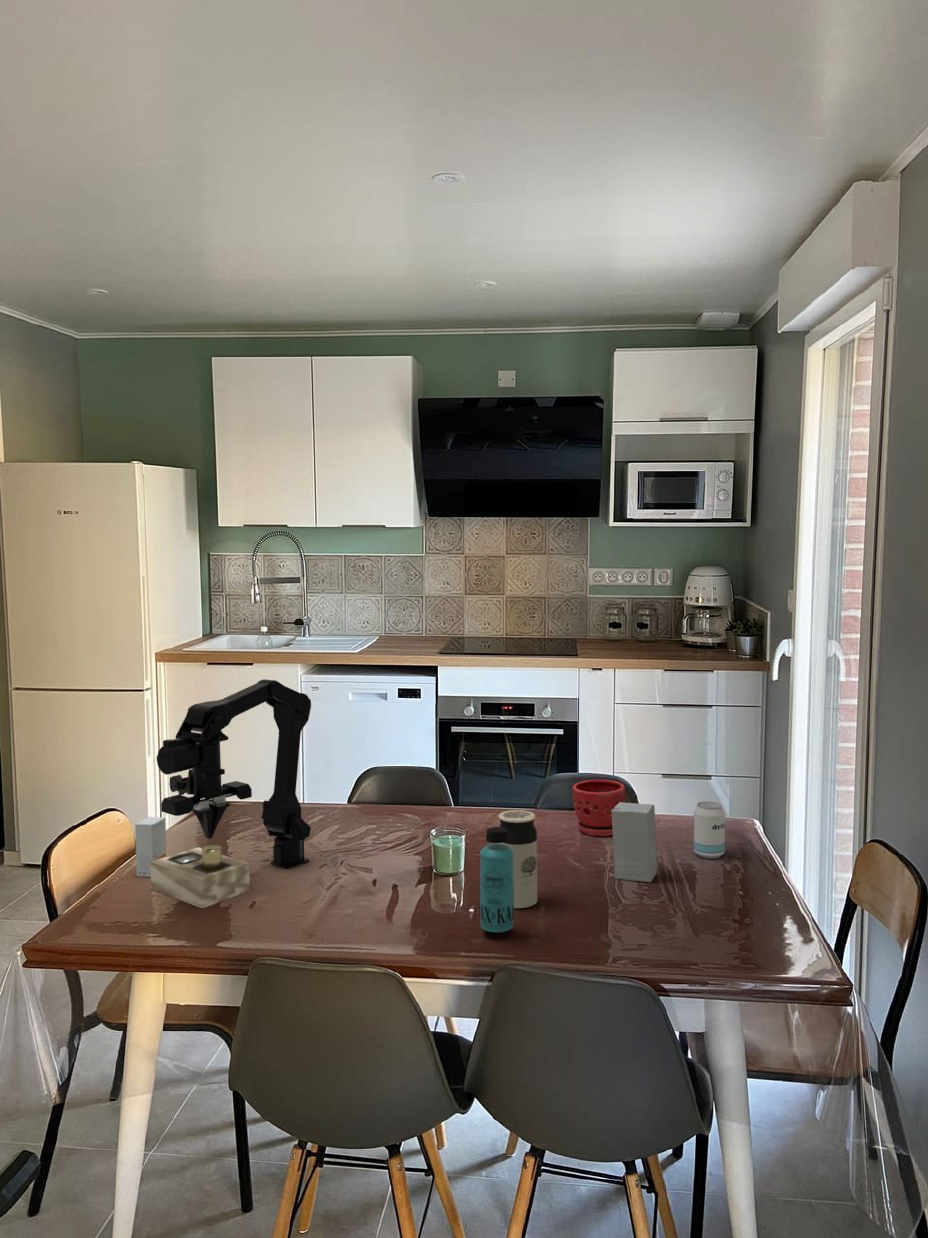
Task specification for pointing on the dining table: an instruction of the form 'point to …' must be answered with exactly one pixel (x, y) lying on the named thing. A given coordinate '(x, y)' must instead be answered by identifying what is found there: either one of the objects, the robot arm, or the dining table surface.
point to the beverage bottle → (496, 883)
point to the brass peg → (211, 857)
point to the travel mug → (522, 854)
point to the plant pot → (597, 805)
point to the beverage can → (709, 830)
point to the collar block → (199, 879)
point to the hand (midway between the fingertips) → (209, 838)
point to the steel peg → (186, 859)
